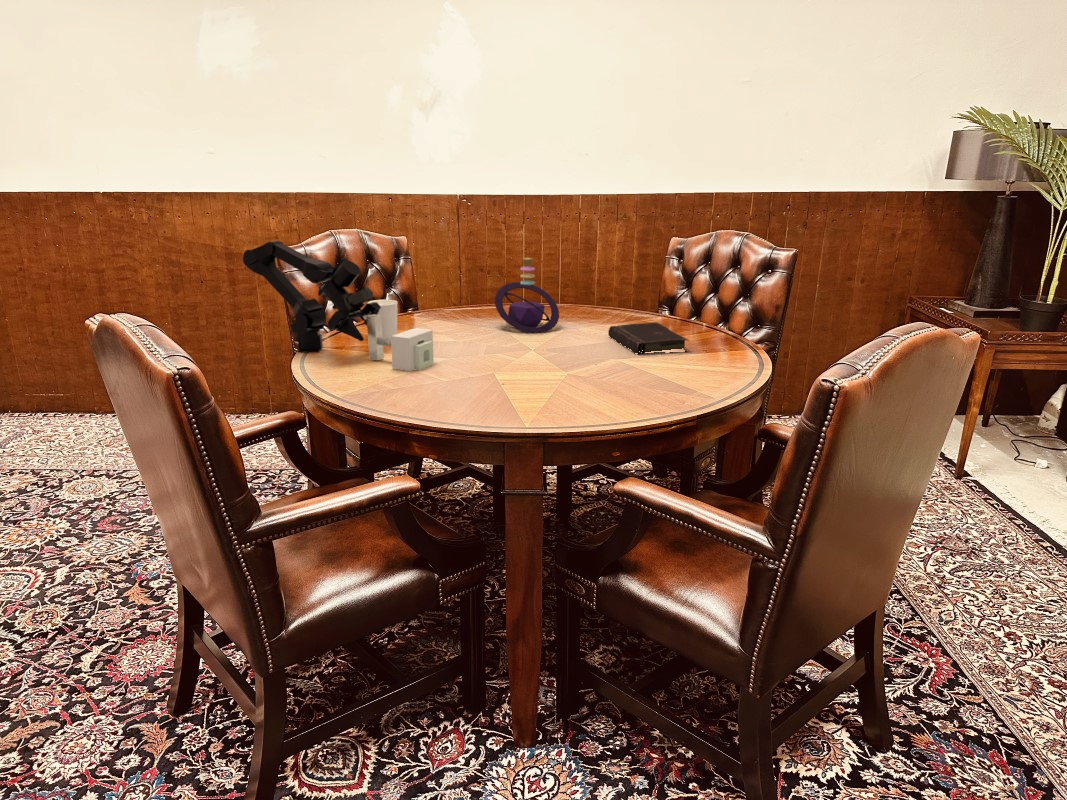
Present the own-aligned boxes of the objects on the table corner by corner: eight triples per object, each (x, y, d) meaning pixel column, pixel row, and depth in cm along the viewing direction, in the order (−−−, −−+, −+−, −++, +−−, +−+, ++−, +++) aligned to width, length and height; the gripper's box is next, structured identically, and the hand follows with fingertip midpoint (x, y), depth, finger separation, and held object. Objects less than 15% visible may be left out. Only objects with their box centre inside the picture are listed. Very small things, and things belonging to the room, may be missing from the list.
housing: (392, 368, 206) (390, 336, 203) (416, 359, 216) (415, 328, 213) (410, 371, 203) (408, 338, 200) (433, 361, 214) (432, 330, 211)
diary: (635, 357, 224) (636, 341, 222) (608, 339, 247) (608, 325, 245) (690, 353, 228) (691, 338, 227) (658, 336, 251) (659, 322, 250)
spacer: (415, 369, 205) (414, 345, 203) (429, 364, 211) (428, 340, 209) (419, 370, 205) (419, 346, 203) (433, 364, 211) (432, 341, 209)
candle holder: (402, 334, 248) (401, 300, 244) (394, 341, 238) (392, 305, 235) (374, 333, 248) (372, 299, 245) (365, 340, 239) (363, 304, 235)
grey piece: (369, 359, 214) (366, 316, 210) (375, 356, 217) (373, 314, 213) (411, 365, 208) (409, 321, 204) (417, 362, 211) (415, 319, 207)
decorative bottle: (503, 336, 247) (502, 262, 239) (490, 323, 266) (489, 255, 258) (565, 333, 252) (566, 260, 245) (548, 321, 272) (549, 253, 264)
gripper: (332, 283, 203) (366, 326, 201) (374, 275, 219) (405, 314, 217) (313, 308, 208) (346, 350, 207) (355, 299, 224) (385, 337, 223)
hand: (372, 337), depth 214 cm, fingers open, 8 cm apart
